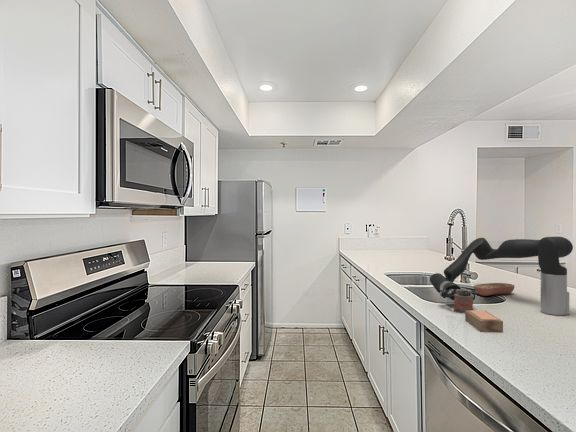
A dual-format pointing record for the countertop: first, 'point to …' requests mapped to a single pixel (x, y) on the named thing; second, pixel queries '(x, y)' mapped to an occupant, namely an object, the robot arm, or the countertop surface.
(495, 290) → the mitochondrion cross-section
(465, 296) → the lighter
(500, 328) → the wooden block
